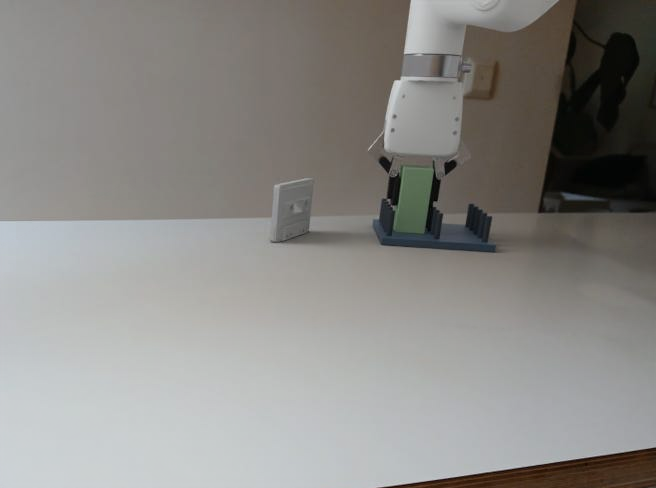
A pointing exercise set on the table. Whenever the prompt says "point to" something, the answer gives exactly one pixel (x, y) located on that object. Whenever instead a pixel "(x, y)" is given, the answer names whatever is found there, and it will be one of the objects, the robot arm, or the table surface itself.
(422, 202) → the block
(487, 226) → the rack
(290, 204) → the cassette
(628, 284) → the table surface
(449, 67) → the robot arm
